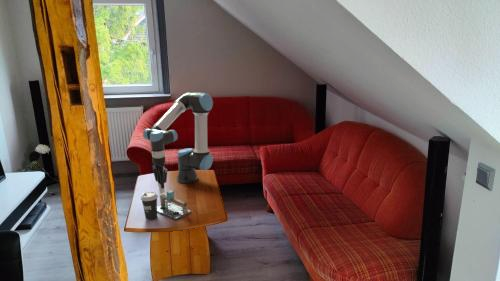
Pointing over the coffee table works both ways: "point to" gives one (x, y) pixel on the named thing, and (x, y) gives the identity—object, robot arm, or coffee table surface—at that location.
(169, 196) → the slider block
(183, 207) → the wooden rail
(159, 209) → the bolt plate
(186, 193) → the coffee table surface
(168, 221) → the coffee table surface
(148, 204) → the coffee cup
